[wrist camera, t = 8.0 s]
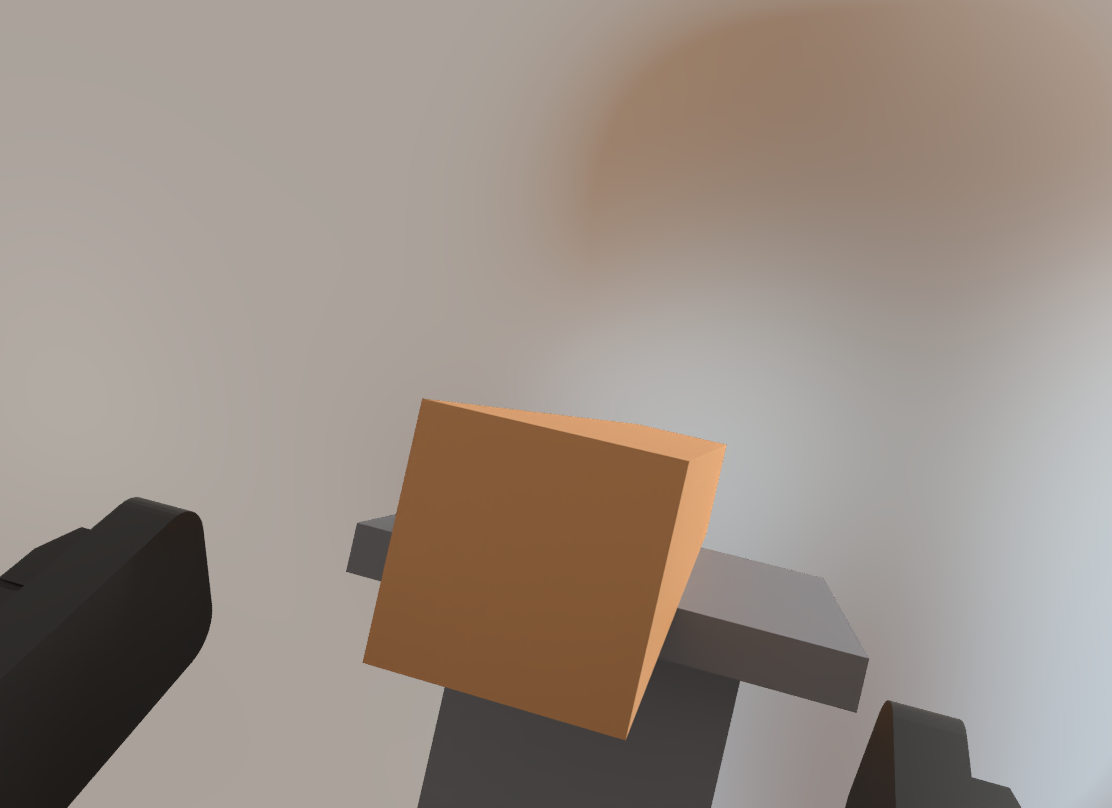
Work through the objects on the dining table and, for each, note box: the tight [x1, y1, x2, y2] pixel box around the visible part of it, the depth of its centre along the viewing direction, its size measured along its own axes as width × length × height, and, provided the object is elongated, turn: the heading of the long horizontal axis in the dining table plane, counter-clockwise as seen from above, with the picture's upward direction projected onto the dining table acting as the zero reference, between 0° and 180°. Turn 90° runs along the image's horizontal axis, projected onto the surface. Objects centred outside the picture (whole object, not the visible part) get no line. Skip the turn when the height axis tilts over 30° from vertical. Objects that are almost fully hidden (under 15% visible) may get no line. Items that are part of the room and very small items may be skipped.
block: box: [363, 399, 726, 740], centre depth 21 cm, size 3×22×3 cm, turn 169°
